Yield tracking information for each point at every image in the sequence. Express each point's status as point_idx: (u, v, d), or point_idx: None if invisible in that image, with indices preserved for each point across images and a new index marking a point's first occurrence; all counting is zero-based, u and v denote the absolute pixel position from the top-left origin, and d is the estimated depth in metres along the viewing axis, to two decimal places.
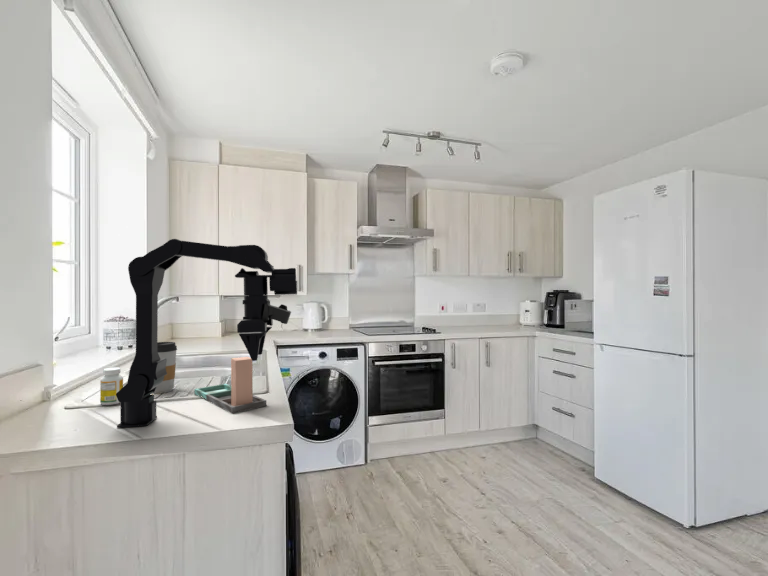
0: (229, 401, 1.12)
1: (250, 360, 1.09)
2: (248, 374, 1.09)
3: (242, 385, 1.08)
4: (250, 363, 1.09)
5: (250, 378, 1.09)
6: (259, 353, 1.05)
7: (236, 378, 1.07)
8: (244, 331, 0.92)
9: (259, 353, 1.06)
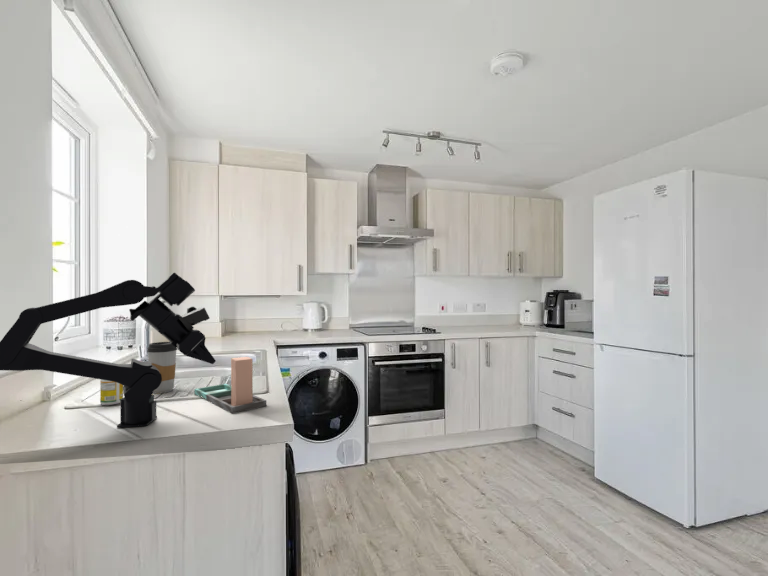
0: (229, 401, 1.12)
1: (250, 360, 1.09)
2: (248, 374, 1.09)
3: (242, 385, 1.08)
4: (250, 363, 1.09)
5: (250, 378, 1.09)
6: None
7: (236, 378, 1.07)
8: (190, 349, 0.94)
9: None
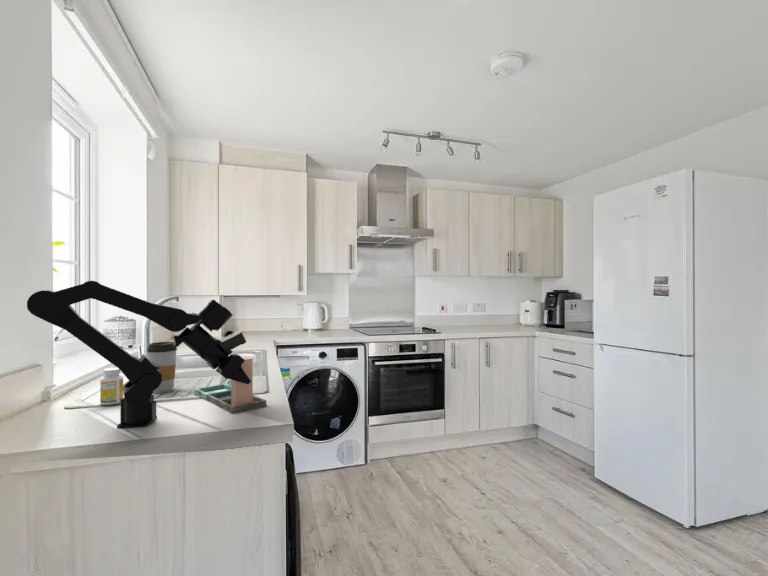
0: (229, 401, 1.12)
1: (250, 360, 1.09)
2: (248, 374, 1.09)
3: (242, 385, 1.08)
4: (250, 363, 1.09)
5: (250, 378, 1.09)
6: None
7: None
8: (231, 374, 1.00)
9: None
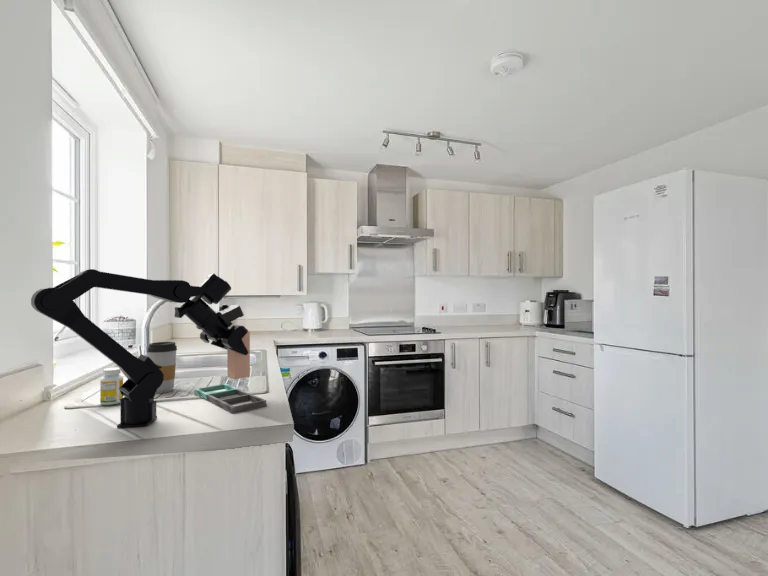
0: (229, 401, 1.12)
1: (247, 332, 1.14)
2: (246, 345, 1.14)
3: (240, 356, 1.13)
4: (247, 335, 1.14)
5: (247, 349, 1.14)
6: None
7: None
8: (237, 343, 1.05)
9: None
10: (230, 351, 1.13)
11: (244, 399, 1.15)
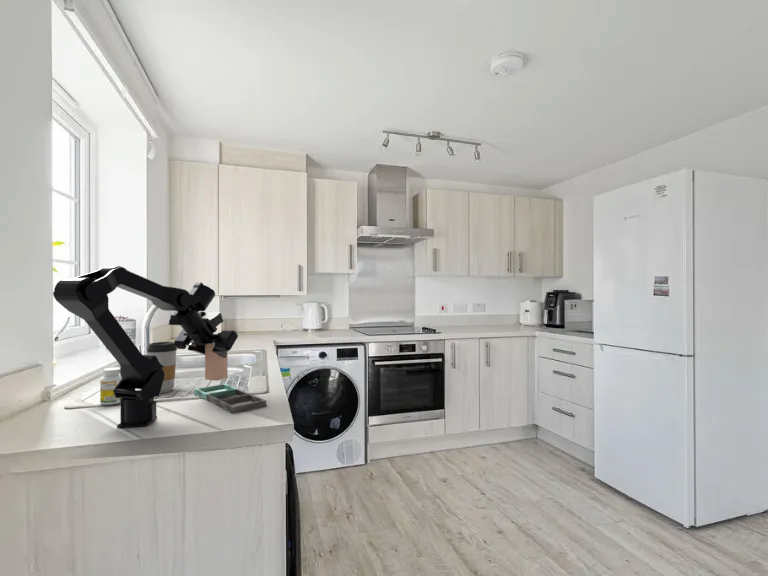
0: (229, 401, 1.12)
1: None
2: None
3: (221, 359, 1.22)
4: None
5: None
6: None
7: None
8: (231, 346, 1.15)
9: None
10: (210, 355, 1.21)
11: (244, 399, 1.15)
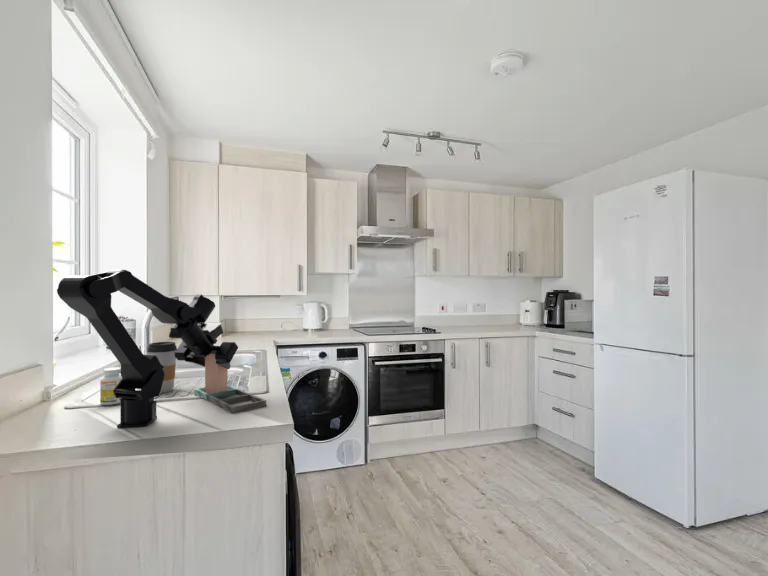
0: (229, 401, 1.12)
1: None
2: None
3: (221, 373, 1.22)
4: None
5: None
6: None
7: (217, 368, 1.20)
8: (231, 358, 1.15)
9: None
10: (210, 370, 1.21)
11: (244, 399, 1.15)
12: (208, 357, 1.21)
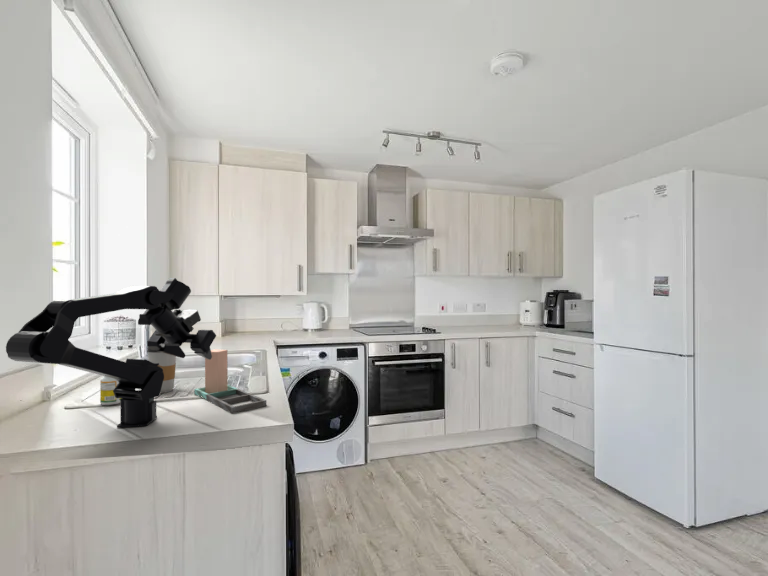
0: (229, 401, 1.12)
1: (226, 351, 1.24)
2: (225, 363, 1.23)
3: (221, 373, 1.22)
4: (226, 354, 1.24)
5: (226, 367, 1.24)
6: (184, 356, 1.16)
7: (217, 368, 1.20)
8: (208, 347, 1.06)
9: (184, 356, 1.16)
10: (210, 370, 1.21)
11: (244, 399, 1.15)
12: None
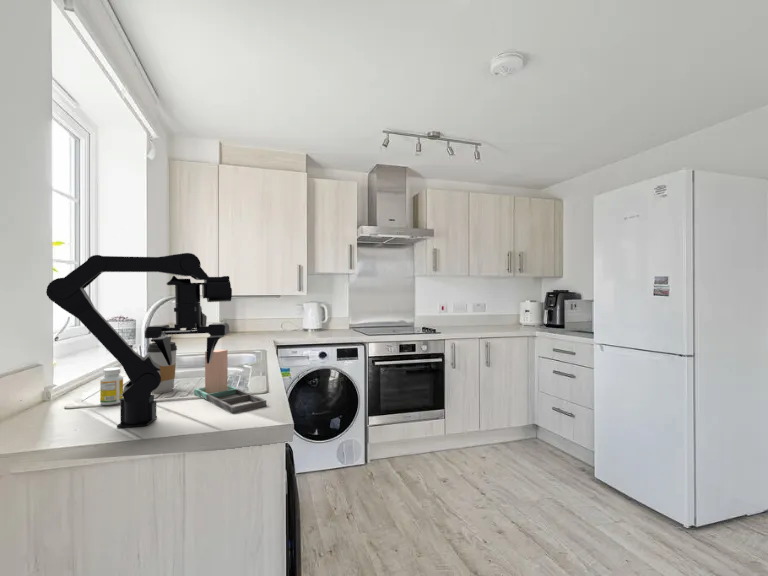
0: (229, 401, 1.12)
1: (226, 351, 1.24)
2: (225, 363, 1.23)
3: (221, 373, 1.22)
4: (226, 354, 1.24)
5: (226, 367, 1.24)
6: (170, 363, 1.01)
7: (217, 368, 1.20)
8: (225, 333, 1.02)
9: (170, 364, 1.01)
10: (210, 370, 1.21)
11: (244, 399, 1.15)
12: None
